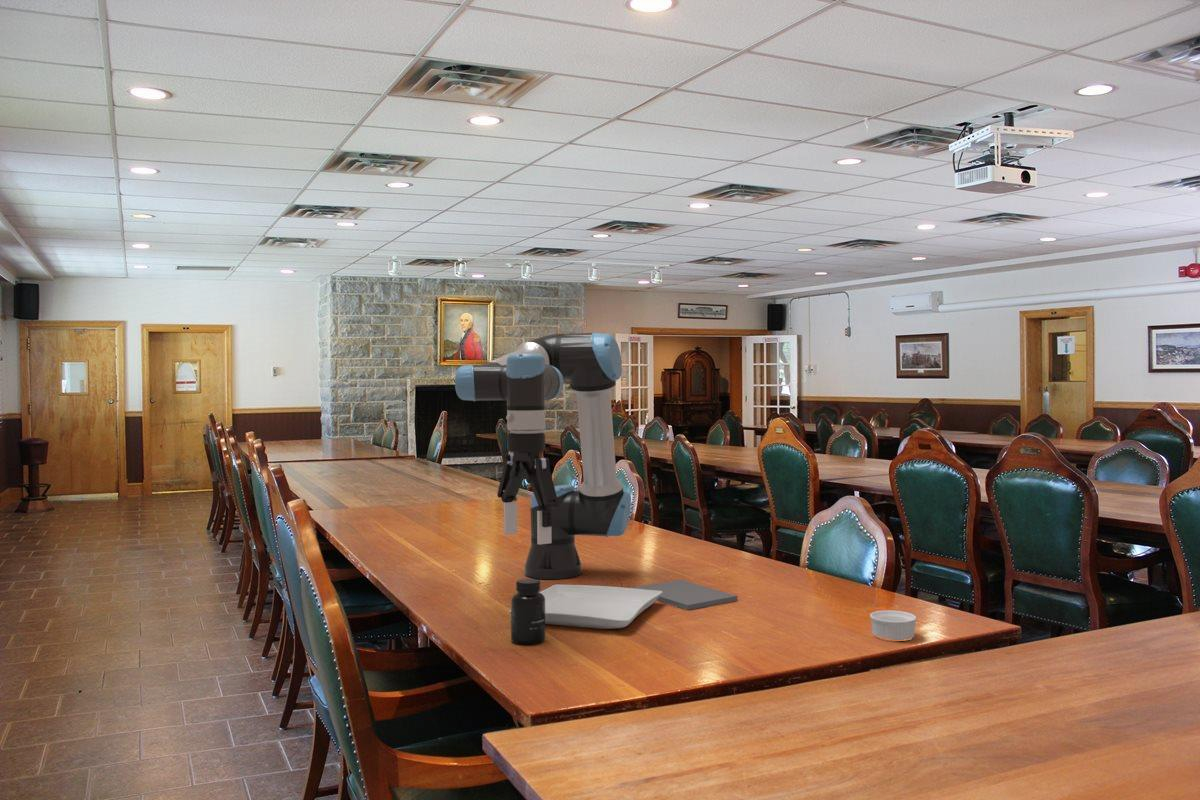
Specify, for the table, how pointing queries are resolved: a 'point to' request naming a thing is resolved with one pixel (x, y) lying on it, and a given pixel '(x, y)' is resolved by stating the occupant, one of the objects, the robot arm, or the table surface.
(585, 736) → the table surface
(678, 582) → the folder
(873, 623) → the ramekin
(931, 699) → the table surface
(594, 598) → the square plate
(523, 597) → the supplement bottle
